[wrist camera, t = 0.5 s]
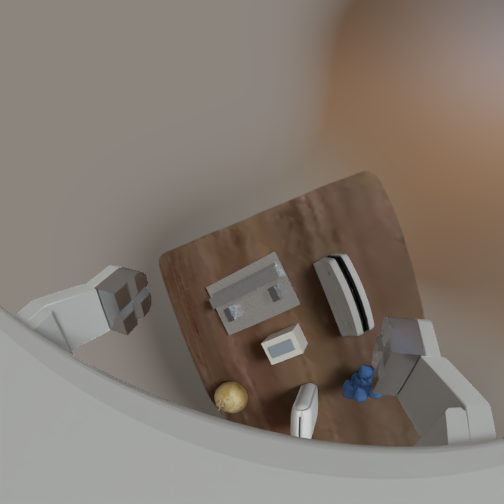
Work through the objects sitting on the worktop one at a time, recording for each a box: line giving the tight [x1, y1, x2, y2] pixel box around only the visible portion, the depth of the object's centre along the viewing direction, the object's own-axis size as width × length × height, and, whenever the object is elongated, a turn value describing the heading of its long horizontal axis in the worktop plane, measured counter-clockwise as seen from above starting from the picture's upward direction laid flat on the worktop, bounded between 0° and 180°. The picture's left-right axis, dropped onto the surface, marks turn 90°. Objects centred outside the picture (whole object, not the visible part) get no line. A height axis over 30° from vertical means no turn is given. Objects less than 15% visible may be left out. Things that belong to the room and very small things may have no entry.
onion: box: [214, 382, 248, 413], centre depth 60 cm, size 8×8×7 cm
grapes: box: [342, 365, 383, 402], centre depth 48 cm, size 12×7×12 cm, turn 115°
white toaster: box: [313, 254, 374, 336], centre depth 52 cm, size 17×5×10 cm, turn 24°
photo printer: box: [291, 383, 318, 439], centre depth 52 cm, size 10×4×12 cm, turn 4°
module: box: [261, 323, 308, 365], centre depth 56 cm, size 5×7×6 cm
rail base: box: [206, 251, 301, 335], centre depth 60 cm, size 12×18×4 cm, turn 118°
